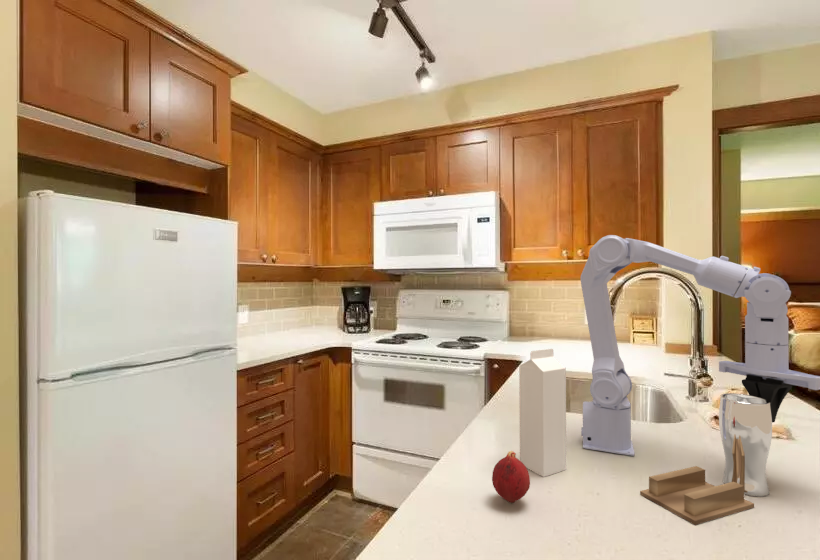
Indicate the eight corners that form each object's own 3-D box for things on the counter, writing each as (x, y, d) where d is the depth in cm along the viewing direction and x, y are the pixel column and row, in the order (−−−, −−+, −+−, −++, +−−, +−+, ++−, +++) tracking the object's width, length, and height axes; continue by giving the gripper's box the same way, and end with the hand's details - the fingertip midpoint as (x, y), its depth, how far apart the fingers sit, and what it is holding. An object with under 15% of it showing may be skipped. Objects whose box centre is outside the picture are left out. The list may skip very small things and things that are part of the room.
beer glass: (783, 500, 65) (782, 405, 65) (733, 496, 67) (732, 403, 67) (756, 479, 72) (755, 393, 72) (711, 476, 74) (710, 391, 74)
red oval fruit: (523, 517, 61) (523, 462, 61) (486, 505, 64) (486, 454, 64) (534, 499, 66) (534, 449, 66) (499, 489, 69) (499, 441, 69)
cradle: (640, 494, 67) (640, 475, 67) (695, 481, 72) (695, 463, 72) (695, 525, 59) (694, 503, 59) (754, 507, 63) (754, 487, 63)
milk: (566, 470, 76) (567, 351, 76) (543, 477, 73) (543, 353, 73) (541, 457, 82) (541, 346, 82) (518, 464, 79) (519, 348, 79)
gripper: (834, 347, 66) (835, 432, 66) (735, 336, 80) (736, 407, 80) (807, 350, 64) (808, 438, 64) (711, 338, 77) (711, 411, 77)
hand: (766, 421), depth 72 cm, fingers closed
